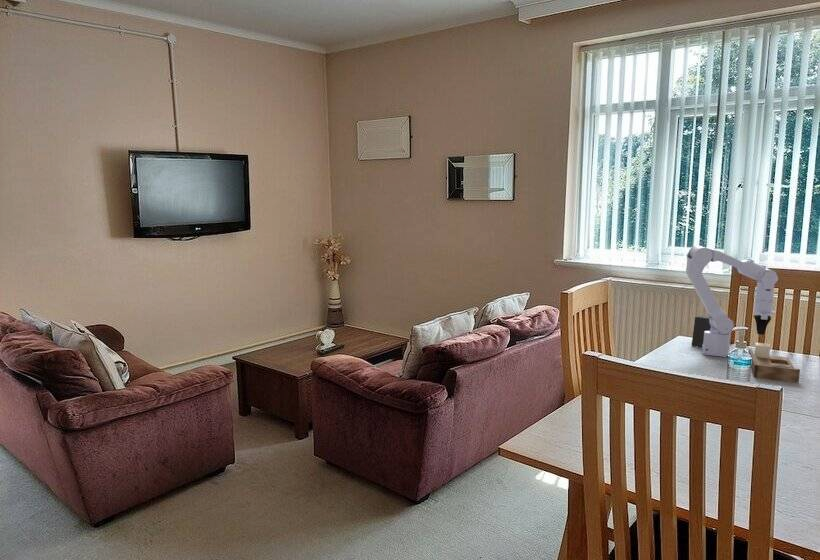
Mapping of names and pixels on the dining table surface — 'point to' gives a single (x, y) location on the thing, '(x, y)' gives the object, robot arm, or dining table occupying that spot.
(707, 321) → the phone stand
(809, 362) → the dining table surface
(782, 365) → the trap board
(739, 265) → the robot arm
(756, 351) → the cream block
